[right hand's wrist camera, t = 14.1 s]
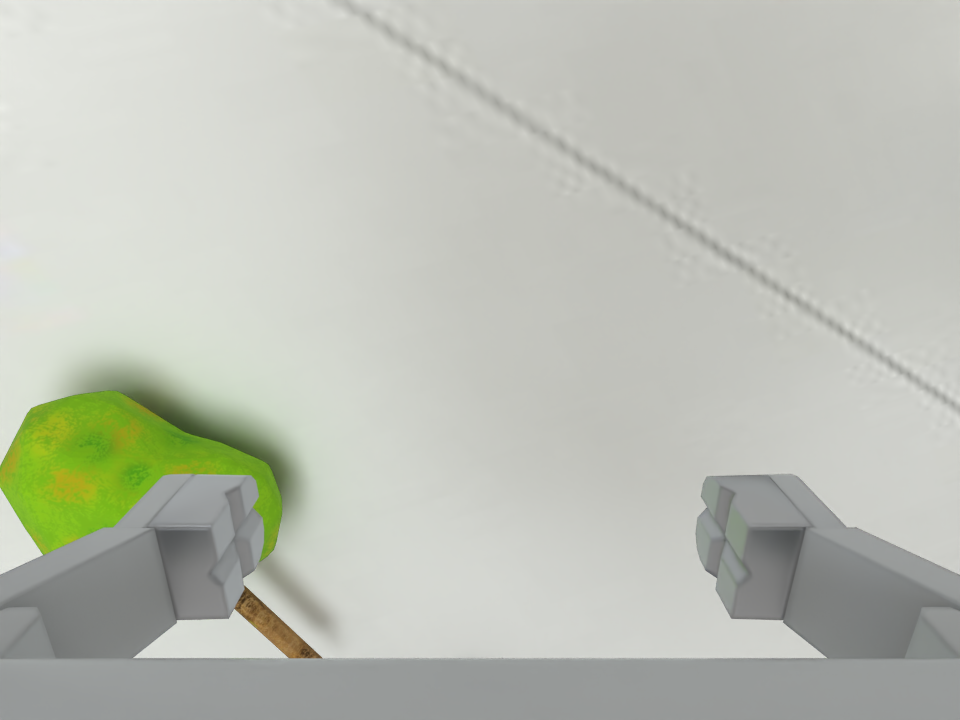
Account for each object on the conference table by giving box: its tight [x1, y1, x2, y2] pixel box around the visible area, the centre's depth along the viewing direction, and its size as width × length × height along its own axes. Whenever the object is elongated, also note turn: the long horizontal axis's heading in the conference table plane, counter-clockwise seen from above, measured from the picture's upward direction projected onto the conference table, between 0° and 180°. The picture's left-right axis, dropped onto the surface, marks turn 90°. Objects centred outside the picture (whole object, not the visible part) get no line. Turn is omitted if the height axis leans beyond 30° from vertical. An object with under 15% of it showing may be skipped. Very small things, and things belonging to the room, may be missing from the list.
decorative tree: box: [0, 391, 322, 658], centre depth 44 cm, size 18×10×30 cm
